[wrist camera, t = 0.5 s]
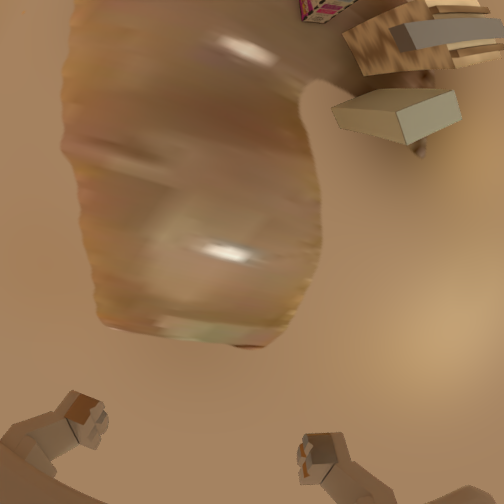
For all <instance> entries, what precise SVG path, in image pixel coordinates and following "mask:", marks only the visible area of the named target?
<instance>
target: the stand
mask: <svg viewBox="0 0 504 504" xmlns="http://www.w3.org/2000/svg"><path fill="white" fill-rule="evenodd" d="M488 13H490V11H489V9H488V7H480V5H479V3H478V1H477V0H414V1H411V2H409V3H406V4H403V5H401V6H398V7H396V8H394V9H391V10H389V11H387V12H384V13H382V14H380V15H378V16H376V17H374V18H371V19H369V20H367V21H365V22H363V23H361V24H359V25H357V26H355V27H353V28H351V29H349V30H348V31H346V32H344V33H342V35H343V37H344V39H345V41H346V42H347V44H348V46H349V48H350V50H351V52H352V54H353V56H354V57H355V59H356V61H357V63H358V65H359V67H360V69H361V72H362V74H363V76H370V75H377V74H384V73H392V72H402V71H413V70H429V69H457V68H461V67H465V66H469V65H473V64H478V63H482V62H487V61H491V60H497V59H501V55H500V52H499V51H500V50H504V44H496V41H495V38H491V39H479V40H470V41H462V42H455V43H449V44H443V45H438V46H433V47H428V48H423V49H418V50H413V51H407V52H402V53H400V51H399V49H398V47H397V45H396V43H395V41H394V39H393V37H392V35H391V33H390V31H389V29H388V28H391V27H394V26H397V25H400V24H403V23H409V22H416V21H425V20H435V19H448V18H486V17H485V15H484V14H488Z"/></svg>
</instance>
